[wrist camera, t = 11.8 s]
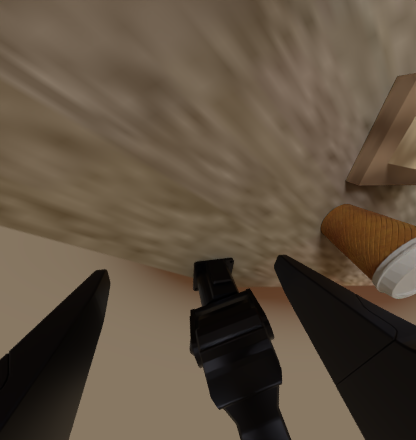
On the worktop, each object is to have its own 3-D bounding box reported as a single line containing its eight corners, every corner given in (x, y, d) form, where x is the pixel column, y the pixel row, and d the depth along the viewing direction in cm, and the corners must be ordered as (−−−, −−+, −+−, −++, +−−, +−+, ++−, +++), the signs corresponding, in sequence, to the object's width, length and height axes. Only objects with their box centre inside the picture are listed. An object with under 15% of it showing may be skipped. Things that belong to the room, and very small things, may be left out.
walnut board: (403, 180, 28) (418, 184, 26) (345, 180, 25) (358, 185, 23) (464, 89, 22) (489, 86, 20) (397, 76, 19) (420, 72, 17)
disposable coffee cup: (302, 227, 28) (379, 288, 18) (352, 182, 26) (473, 225, 16) (325, 249, 33) (396, 308, 23) (369, 213, 30) (471, 261, 20)
